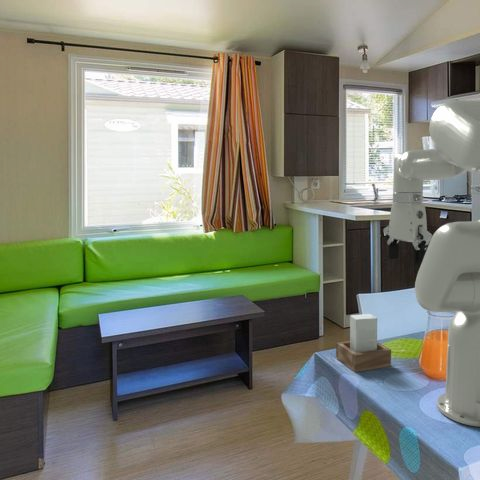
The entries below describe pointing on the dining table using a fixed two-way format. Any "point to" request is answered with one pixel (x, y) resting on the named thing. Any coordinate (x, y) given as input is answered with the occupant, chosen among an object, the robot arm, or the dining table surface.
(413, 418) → the dining table surface
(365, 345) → the skincare box
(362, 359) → the small open wooden box
